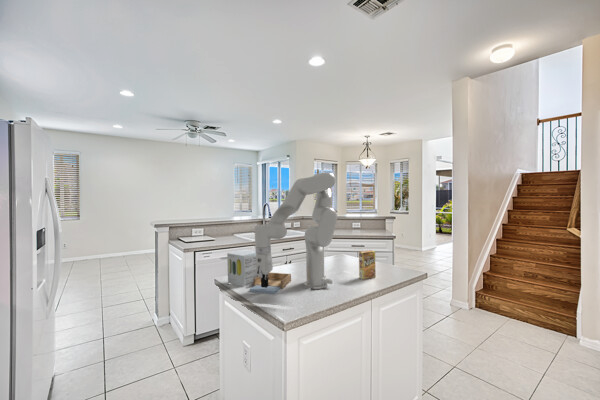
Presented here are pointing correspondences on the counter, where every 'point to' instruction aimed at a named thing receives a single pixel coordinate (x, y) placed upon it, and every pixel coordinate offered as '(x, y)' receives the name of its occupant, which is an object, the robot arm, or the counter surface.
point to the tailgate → (265, 289)
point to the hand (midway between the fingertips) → (264, 286)
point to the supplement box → (242, 267)
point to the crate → (275, 280)
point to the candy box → (367, 264)
